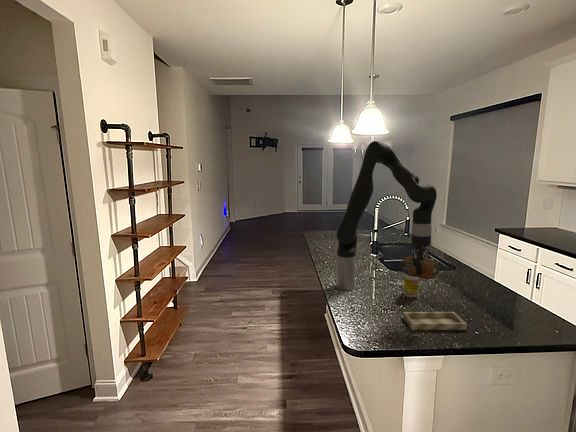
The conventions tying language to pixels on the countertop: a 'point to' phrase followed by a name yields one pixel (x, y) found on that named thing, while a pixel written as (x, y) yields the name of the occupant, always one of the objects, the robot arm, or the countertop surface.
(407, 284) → the supplement bottle
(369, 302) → the countertop surface
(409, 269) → the tin
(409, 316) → the tray
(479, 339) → the countertop surface
